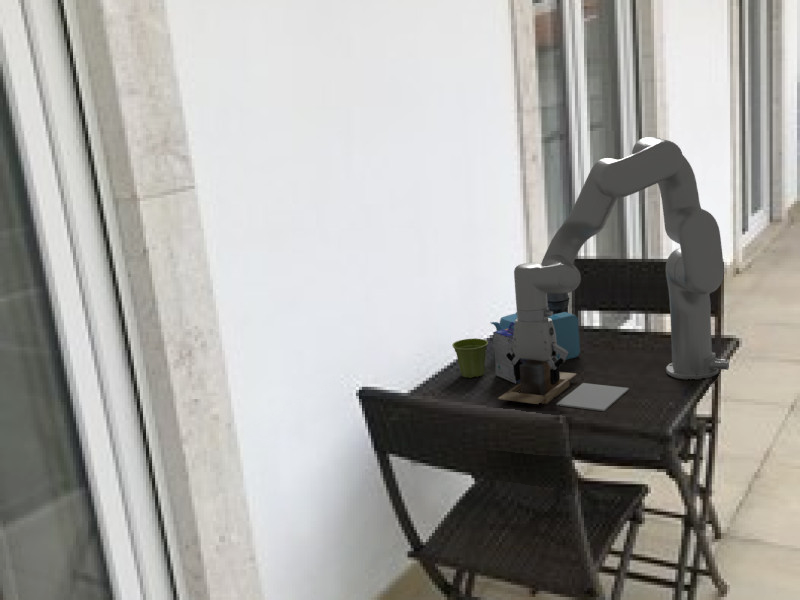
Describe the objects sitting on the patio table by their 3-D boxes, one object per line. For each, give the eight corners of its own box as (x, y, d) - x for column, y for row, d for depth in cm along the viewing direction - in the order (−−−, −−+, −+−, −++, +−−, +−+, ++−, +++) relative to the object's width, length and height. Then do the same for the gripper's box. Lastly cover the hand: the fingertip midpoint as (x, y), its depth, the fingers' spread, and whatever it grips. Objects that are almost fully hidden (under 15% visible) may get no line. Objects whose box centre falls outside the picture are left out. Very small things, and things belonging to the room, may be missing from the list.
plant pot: (467, 367, 264) (464, 336, 262) (497, 370, 258) (494, 339, 256) (448, 378, 257) (445, 347, 255) (479, 382, 251) (476, 350, 249)
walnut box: (555, 388, 241) (553, 357, 239) (540, 399, 234) (538, 367, 232) (536, 386, 243) (534, 355, 242) (522, 396, 237) (519, 365, 235)
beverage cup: (546, 341, 278) (541, 274, 273) (546, 334, 285) (542, 268, 280) (572, 340, 277) (567, 272, 272) (571, 333, 284) (567, 266, 279)
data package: (571, 352, 267) (569, 310, 264) (580, 356, 262) (578, 314, 260) (533, 361, 262) (530, 319, 260) (542, 365, 258) (539, 322, 255)
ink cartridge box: (534, 379, 248) (530, 325, 245) (516, 384, 246) (512, 330, 242) (512, 370, 257) (508, 318, 253) (495, 375, 255) (490, 323, 251)
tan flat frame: (577, 380, 244) (576, 373, 244) (538, 410, 227) (537, 403, 227) (539, 376, 250) (538, 369, 250) (498, 404, 233) (498, 397, 233)
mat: (629, 389, 234) (628, 388, 234) (604, 411, 222) (604, 409, 222) (583, 384, 241) (583, 382, 241) (556, 405, 229) (556, 403, 229)
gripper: (572, 312, 232) (575, 380, 236) (508, 307, 242) (513, 372, 246) (558, 321, 226) (562, 390, 230) (493, 315, 236) (498, 382, 240)
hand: (537, 381), depth 238 cm, fingers open, 9 cm apart
